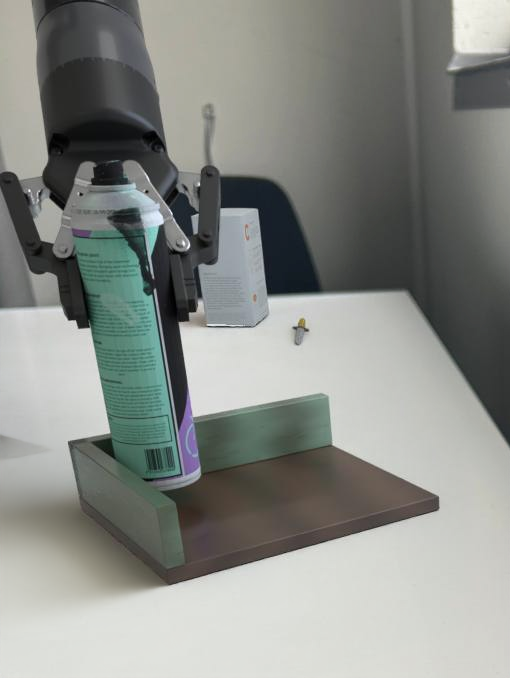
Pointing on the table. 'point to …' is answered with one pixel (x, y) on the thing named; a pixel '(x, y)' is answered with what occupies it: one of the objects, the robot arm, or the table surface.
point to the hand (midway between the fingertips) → (133, 317)
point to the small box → (235, 271)
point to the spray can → (135, 328)
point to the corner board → (244, 491)
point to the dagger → (300, 330)
